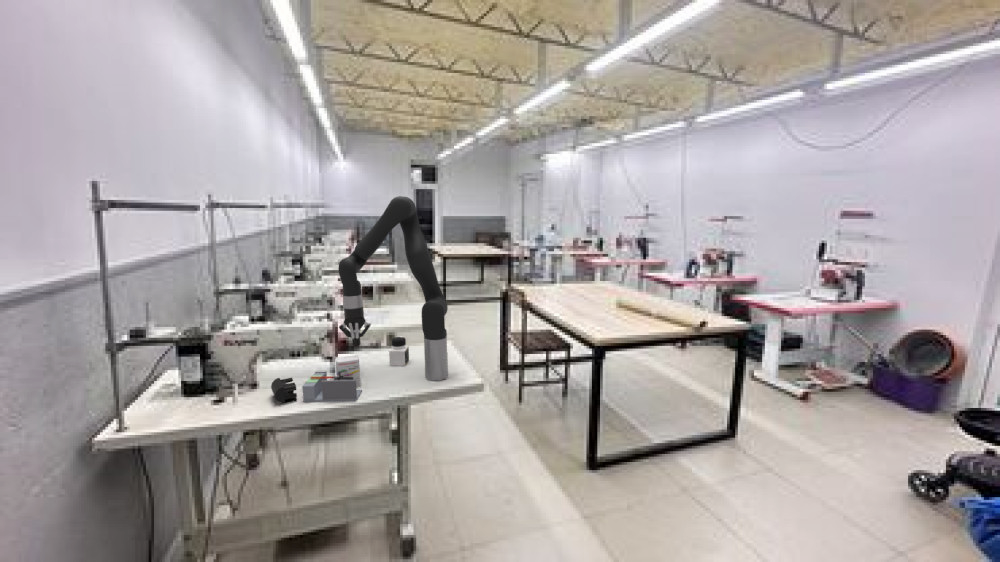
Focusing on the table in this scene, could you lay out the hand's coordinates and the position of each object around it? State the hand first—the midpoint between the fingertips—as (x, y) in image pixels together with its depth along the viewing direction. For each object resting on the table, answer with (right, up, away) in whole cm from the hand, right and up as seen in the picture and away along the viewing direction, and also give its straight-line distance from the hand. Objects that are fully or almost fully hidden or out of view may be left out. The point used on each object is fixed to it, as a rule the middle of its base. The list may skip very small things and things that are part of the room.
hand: (356, 346), depth 178 cm
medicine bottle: (+14, -10, +16) cm, 23 cm away
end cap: (-20, -17, -19) cm, 33 cm away
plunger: (-4, -15, -16) cm, 22 cm away
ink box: (0, -15, -9) cm, 17 cm away
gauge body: (-3, -16, -15) cm, 22 cm away
